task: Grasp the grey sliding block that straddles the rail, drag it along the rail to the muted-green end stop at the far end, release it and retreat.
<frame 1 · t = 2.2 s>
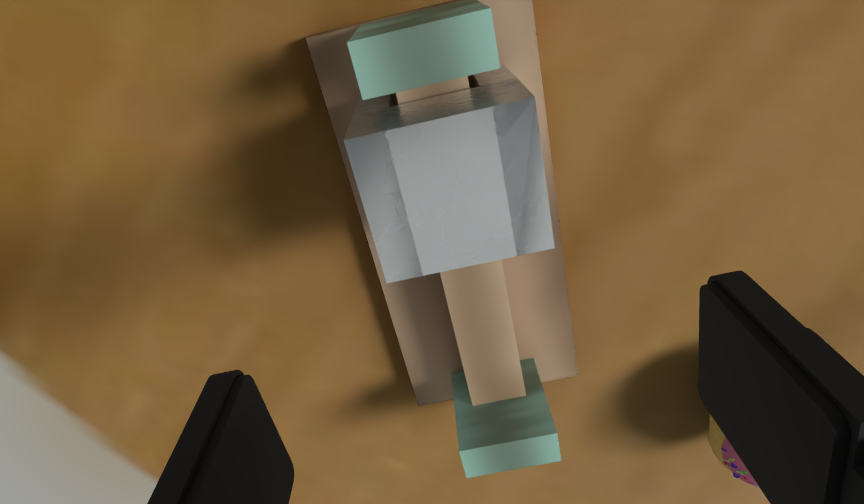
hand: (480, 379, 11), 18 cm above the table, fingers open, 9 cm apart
rail bed: (461, 224, 30), on the table
cupcake: (745, 374, 36), on the table
grey sliding block: (449, 167, 24), point 5 cm above the table, slide at -5.0 cm
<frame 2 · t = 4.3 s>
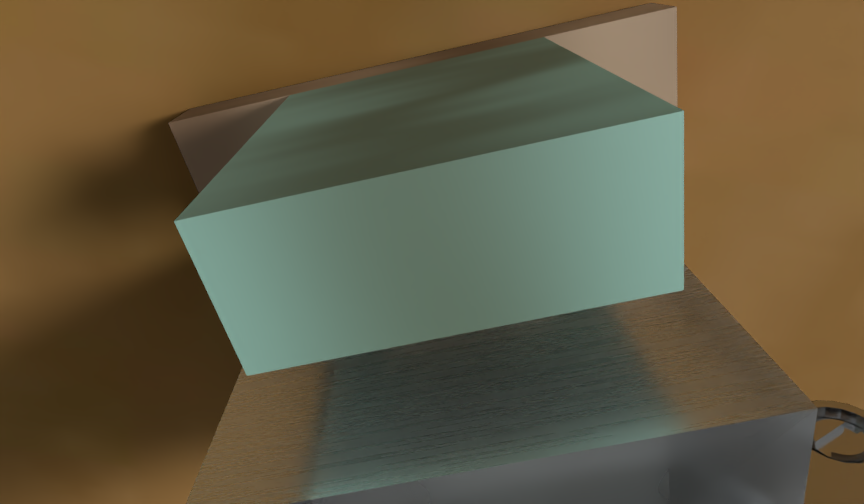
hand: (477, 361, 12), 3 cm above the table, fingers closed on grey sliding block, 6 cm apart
rail bed: (495, 431, 17), on the table
grey sliding block: (490, 433, 10), point 5 cm above the table, slide at -5.0 cm, touching gripper
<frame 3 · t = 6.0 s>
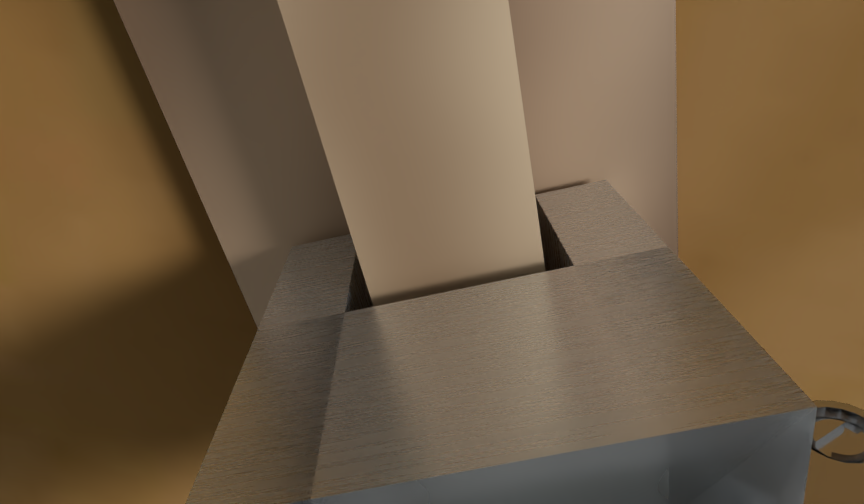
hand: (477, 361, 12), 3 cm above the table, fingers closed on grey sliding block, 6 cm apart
rail bed: (453, 238, 14), on the table
grey sliding block: (489, 433, 10), point 5 cm above the table, slide at 1.7 cm, touching gripper
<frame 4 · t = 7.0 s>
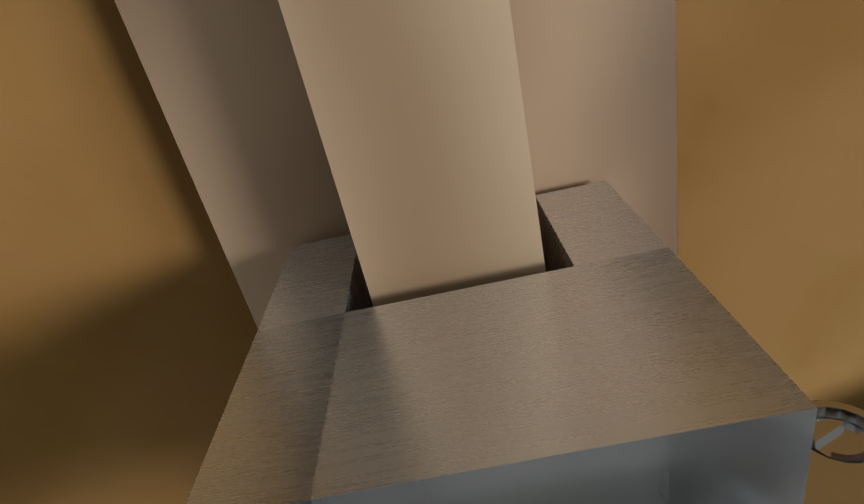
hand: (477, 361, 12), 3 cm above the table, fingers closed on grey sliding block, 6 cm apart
rail bed: (416, 70, 12), on the table
grey sliding block: (489, 433, 10), point 5 cm above the table, slide at 5.8 cm, touching gripper
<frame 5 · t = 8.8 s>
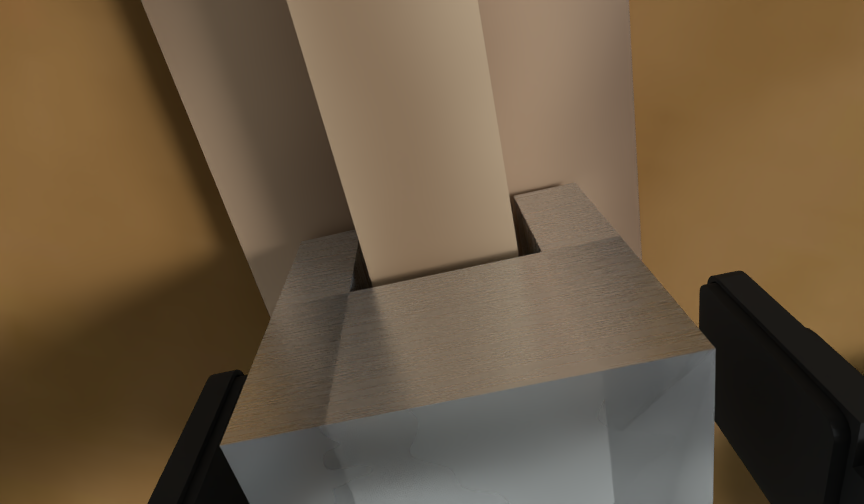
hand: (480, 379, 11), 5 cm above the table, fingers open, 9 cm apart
rail bed: (410, 87, 14), on the table
grey sliding block: (473, 399, 12), point 5 cm above the table, slide at 5.8 cm
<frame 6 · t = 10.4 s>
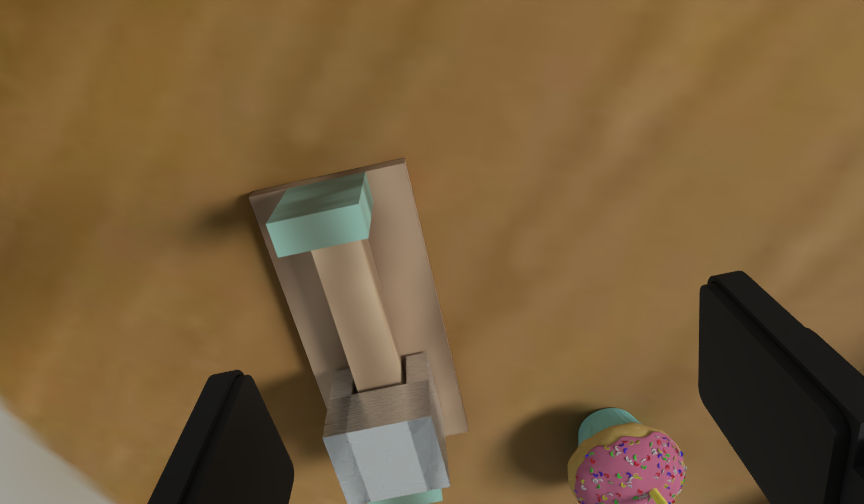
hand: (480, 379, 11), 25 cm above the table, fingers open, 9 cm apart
rail bed: (371, 318, 40), on the table
cupcake: (605, 429, 46), on the table
grey sliding block: (389, 425, 38), point 5 cm above the table, slide at 5.8 cm
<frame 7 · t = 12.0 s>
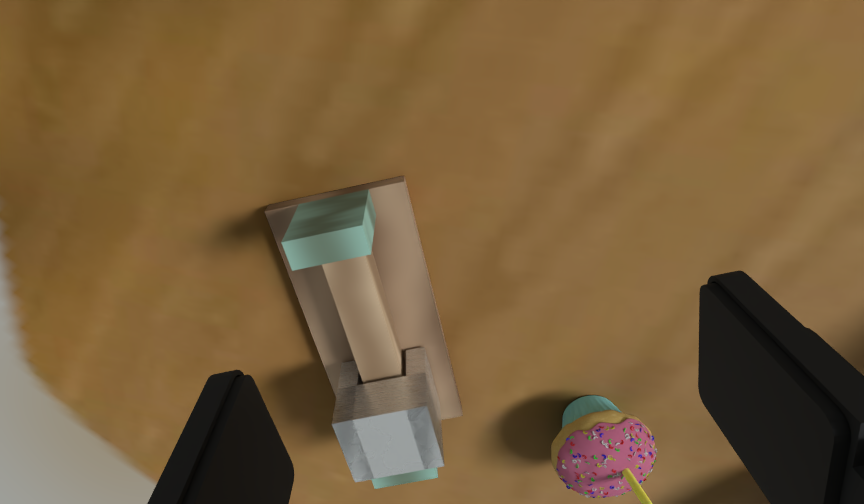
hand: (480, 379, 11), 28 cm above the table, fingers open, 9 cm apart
rail bed: (375, 316, 44), on the table
cupcake: (587, 414, 50), on the table
grey sliding block: (390, 412, 43), point 5 cm above the table, slide at 5.8 cm
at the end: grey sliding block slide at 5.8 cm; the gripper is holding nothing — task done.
